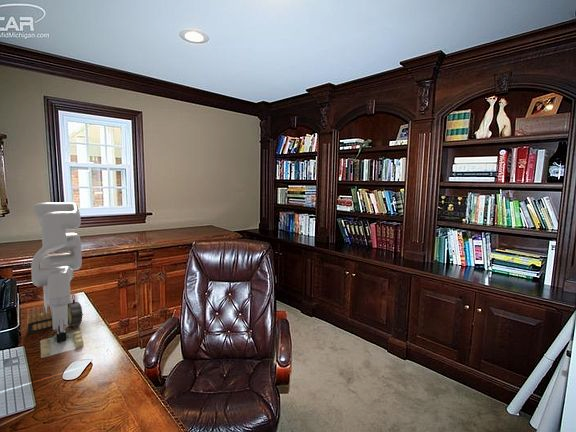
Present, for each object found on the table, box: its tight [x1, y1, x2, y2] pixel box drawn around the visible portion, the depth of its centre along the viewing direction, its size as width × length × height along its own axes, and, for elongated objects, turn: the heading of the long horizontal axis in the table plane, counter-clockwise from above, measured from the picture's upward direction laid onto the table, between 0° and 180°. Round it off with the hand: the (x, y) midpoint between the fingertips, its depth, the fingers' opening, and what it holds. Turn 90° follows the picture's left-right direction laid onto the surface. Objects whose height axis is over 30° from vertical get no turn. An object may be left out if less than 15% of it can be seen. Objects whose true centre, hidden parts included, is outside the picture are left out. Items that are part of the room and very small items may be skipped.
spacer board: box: [40, 330, 85, 359], centre depth 128 cm, size 17×14×3 cm
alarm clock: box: [67, 293, 84, 331], centre depth 143 cm, size 11×5×16 cm, turn 48°
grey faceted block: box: [53, 331, 69, 342], centre depth 131 cm, size 4×5×2 cm
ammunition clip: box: [26, 304, 53, 335], centre depth 139 cm, size 11×2×12 cm, turn 135°
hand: (61, 341), depth 128 cm, fingers closed
